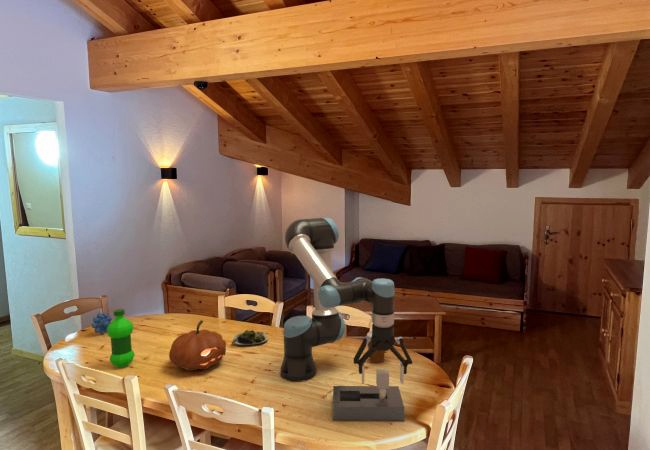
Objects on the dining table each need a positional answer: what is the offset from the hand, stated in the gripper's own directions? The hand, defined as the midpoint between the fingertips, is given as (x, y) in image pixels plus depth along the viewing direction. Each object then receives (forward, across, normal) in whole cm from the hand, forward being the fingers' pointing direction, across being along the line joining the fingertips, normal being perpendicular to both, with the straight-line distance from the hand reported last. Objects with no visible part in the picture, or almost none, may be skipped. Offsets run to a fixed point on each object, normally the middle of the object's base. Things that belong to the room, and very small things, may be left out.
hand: (382, 382), depth 146 cm
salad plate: (+11, -60, +62) cm, 87 cm away
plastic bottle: (+11, -111, +34) cm, 117 cm away
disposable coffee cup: (+10, +2, +40) cm, 41 cm away
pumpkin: (+11, -77, +35) cm, 86 cm away
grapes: (+11, -140, +70) cm, 157 cm away
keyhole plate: (+10, -5, 0) cm, 11 cm away
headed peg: (+10, 0, 0) cm, 10 cm away
